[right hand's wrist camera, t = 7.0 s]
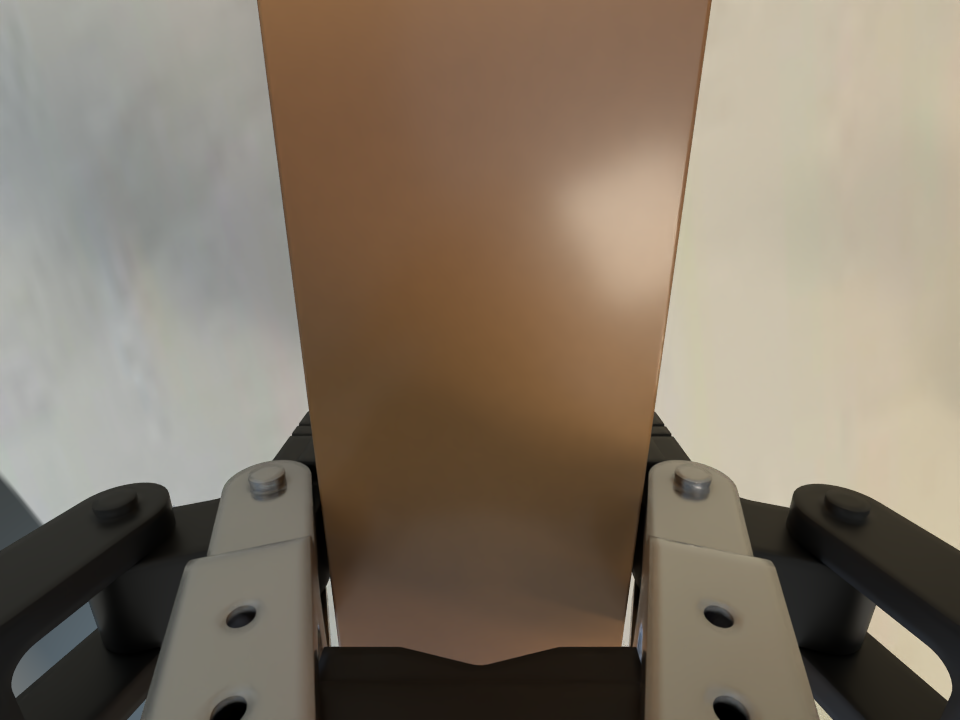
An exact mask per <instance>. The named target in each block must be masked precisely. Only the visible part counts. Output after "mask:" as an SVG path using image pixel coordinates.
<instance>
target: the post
mask: <svg viewBox="0 0 960 720" xmlns="http://www.w3.org/2000/svg"><path fill="white" fill-rule="evenodd" d="M711 2H712V0H257V4H258V12H259V20H260V27H261V35H262V43H263V51H264V59H265V67H266V75H267V83H268V90H269V98H270V106H271V114H272V122H273V130H274V138H275V146H276V154H277V161H278V169H279V177H280V185H281V193H282V201H283V209H284V217H285V224H286V232H287V240H288V248H289V256H290V264H291V272H292V280H293V287H294V295H295V303H296V311H297V319H298V327H299V335H300V343H301V351H302V358H303V366H304V374H305V382H306V390H307V398H308V406H309V414H310V421H311V429H312V437H313V445H314V453H315V461H316V469H317V477H318V484H319V492H320V500H321V508H322V516H323V524H324V532H325V540H326V548H327V555H328V563H329V571H330V579H331V587H332V595H333V603H334V611H335V618H336V626H337V634H338V642H339V647H404V648H408V649H412V650H416V651H420V652H424V653H428V654H432V655H436V656H440V657H444V658H449V659H453V660H457V661H461V662H465V663H469V664H474V665H486V664H491V663H495V662H499V661H503V660H507V659H511V658H516V657H520V656H524V655H528V654H532V653H536V652H540V651H544V650H548V649H552V648H556V647H621V645H622V638H623V631H624V624H625V616H626V609H627V602H628V595H629V588H630V581H631V574H632V566H633V559H634V552H635V545H636V538H637V531H638V524H639V516H640V509H641V502H642V495H643V488H644V481H645V474H646V466H647V459H648V452H649V445H650V438H651V431H652V424H653V416H654V409H655V402H656V395H657V388H658V381H659V374H660V366H661V359H662V352H663V345H664V338H665V331H666V324H667V316H668V309H669V302H670V295H671V288H672V281H673V274H674V266H675V259H676V252H677V245H678V238H679V231H680V224H681V216H682V209H683V202H684V195H685V188H686V181H687V174H688V166H689V159H690V152H691V145H692V138H693V131H694V124H695V116H696V109H697V102H698V95H699V88H700V81H701V74H702V66H703V59H704V52H705V45H706V38H707V31H708V24H709V16H710V9H711Z"/></svg>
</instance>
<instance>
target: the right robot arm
mask: <svg viewBox="0 0 960 720" xmlns="http://www.w3.org/2000/svg"><path fill="white" fill-rule="evenodd" d="M632 573H633V576H634V579H635V581H634V588H633V596H632V607H631V622H630V637H629V647H556V648H552V649H548V650H544V651H540V652H536V653H532V654H528V655H524V656H520V657H516V658H511V659H507V660H503V661H499V662H495V663H491V664H486V665H474V664H469V663H465V662H461V661H457V660H453V659H449V658H444V657H440V656H436V655H432V654H428V653H424V652H420V651H416V650H412V649H408V648H404V647H331V636H330V621H329V606H328V595H327V588H326V585H327V583H328V580H329V578H330V571H329V563H328V555H327V548H326V540H325V532H324V524H323V516H322V508H321V500H320V492H319V484H318V477H317V469H316V461H315V453H314V445H313V437H312V429H311V421H310V414H309V411H308V412H307V414H306V415H305V416H304V418H303V419H302V420H301V422H300V423H299V426H297V427H296V429H295V430H294V432H293V433H292V436H290V437H289V438H288V440H287V441H286V443H285V444H284V445H283V447H282V448H281V450H280V451H279V452H278V454H277V455H276V457H275V458H274V459H273V461H268V462H263V463H259V464H256V465H253V466H250V467H248V468H246V469H244V470H242V471H240V472H238V473H237V474H235V475H234V476H233V477H231V478H230V479H229V480H228V481H227V483H226V484H225V485H224V488H223V491H222V495H221V498H219V499H214V500H210V501H205V502H199V503H194V504H189V505H183V506H178V507H173V508H172V504H171V500H170V496H169V492H168V490H167V489H166V488H165V487H164V486H162V485H159V484H155V483H133V484H127V485H123V486H118V487H115V488H112V489H108V490H106V491H103V492H100V493H98V494H96V495H94V496H91V497H89V498H88V499H86V500H84V501H82V502H81V503H79V504H77V505H76V506H74V507H72V508H71V509H69V510H67V511H66V512H64V513H62V514H61V515H59V516H57V517H56V518H54V519H52V520H51V521H49V522H47V523H46V524H44V525H42V526H41V527H39V528H37V529H36V530H34V531H32V532H31V533H29V534H27V535H26V536H24V537H22V538H21V539H19V540H17V541H16V542H14V543H12V544H11V545H9V546H8V547H6V548H4V549H2V550H1V551H0V720H127V719H128V718H129V717H130V716H131V715H132V714H133V713H134V711H135V710H136V709H137V708H138V707H139V706H140V705H141V704H142V703H143V702H144V701H145V699H146V702H145V705H144V709H143V712H142V715H141V719H140V720H820V719H819V715H818V712H817V708H816V705H815V702H814V699H815V701H816V702H817V703H818V704H819V705H820V706H821V707H822V708H823V709H824V710H825V711H826V713H827V714H828V715H829V716H830V717H831V718H832V719H833V720H960V551H959V550H958V549H956V548H954V547H953V546H951V545H949V544H948V543H946V542H944V541H943V540H941V539H939V538H938V537H936V536H934V535H933V534H931V533H929V532H928V531H926V530H924V529H923V528H921V527H919V526H918V525H916V524H914V523H913V522H911V521H909V520H908V519H906V518H904V517H903V516H901V515H899V514H898V513H896V512H894V511H893V510H891V509H889V508H888V507H886V506H884V505H883V504H881V503H879V502H878V501H876V500H874V499H872V498H870V497H868V496H866V495H864V494H861V493H858V492H856V491H853V490H850V489H846V488H842V487H838V486H833V485H826V484H809V485H804V486H801V487H799V488H797V489H796V490H795V491H794V494H793V497H792V501H791V505H790V508H788V507H782V506H777V505H772V504H766V503H761V502H756V501H751V500H747V499H743V498H740V497H739V494H738V490H737V488H736V485H735V484H734V482H733V481H732V480H731V479H730V478H729V477H728V476H726V475H725V474H723V473H722V472H720V471H718V470H716V469H714V468H712V467H710V466H707V465H704V464H701V463H697V462H692V461H691V460H690V459H689V457H688V456H687V455H686V453H685V452H684V451H683V449H682V448H681V446H680V445H679V444H678V442H677V441H676V440H675V438H674V437H672V436H671V433H670V431H669V430H668V429H667V427H664V423H663V422H662V420H661V419H660V418H659V416H658V415H657V414H656V412H654V416H653V424H652V431H651V438H650V445H649V452H648V459H647V466H646V474H645V481H644V488H643V495H642V502H641V509H640V516H639V524H638V531H637V538H636V545H635V552H634V559H633V566H632ZM88 601H89V604H90V607H91V610H92V613H93V616H94V619H95V621H96V624H97V627H98V628H97V629H96V630H95V631H93V632H92V633H91V634H90V635H89V636H88V637H86V638H85V639H84V640H83V641H82V642H81V643H79V644H78V645H77V646H76V647H75V648H74V649H73V650H71V651H70V652H69V653H68V654H67V655H65V656H64V657H63V658H62V659H61V660H60V661H59V662H57V663H56V664H55V665H54V666H53V667H51V668H50V669H49V670H48V671H47V672H46V673H44V674H43V675H42V676H41V677H40V678H39V679H38V680H36V681H35V682H34V683H33V684H32V685H30V686H29V687H28V688H27V689H26V690H25V691H24V692H22V693H21V694H20V695H19V696H18V697H17V698H15V696H14V694H13V692H12V688H11V681H12V676H13V673H14V670H15V668H16V666H17V664H18V663H19V661H20V660H21V658H22V657H23V655H24V654H25V653H26V652H27V651H28V650H29V649H30V648H31V647H32V646H33V645H34V644H35V643H36V642H38V641H39V640H40V639H41V638H43V637H44V636H45V635H46V634H48V633H49V632H50V631H51V630H53V629H54V628H55V627H57V626H58V625H59V624H60V623H62V622H63V621H64V620H65V619H67V618H68V617H69V616H70V615H72V614H73V613H74V612H75V611H77V610H78V609H79V608H80V607H82V606H83V605H84V604H85V603H87V602H88ZM876 605H877V606H878V607H880V608H881V609H882V610H883V611H885V612H886V613H887V614H888V615H890V616H891V617H892V618H893V619H895V620H896V621H897V622H898V623H900V624H901V625H902V626H903V627H905V628H906V629H907V630H909V631H910V632H911V633H912V634H914V635H915V636H916V637H917V638H919V639H920V640H921V641H922V642H924V643H925V644H926V645H927V646H929V647H930V648H931V649H932V650H933V651H934V652H935V653H936V654H937V655H938V656H939V658H940V659H941V660H942V662H943V663H944V665H945V666H946V668H947V670H948V672H949V674H950V677H951V681H952V693H951V696H950V698H949V700H948V701H947V700H946V699H945V698H944V697H942V696H941V695H940V694H939V693H938V692H937V691H935V690H934V689H933V688H932V687H931V686H930V685H928V684H927V683H926V682H925V681H924V680H923V679H921V678H920V677H919V676H918V675H917V674H916V673H914V672H913V671H912V670H911V669H910V668H909V667H907V666H906V665H905V664H904V663H903V662H902V661H900V660H899V659H898V658H897V657H896V656H895V655H893V654H892V653H891V652H890V651H889V650H888V649H886V648H885V647H884V646H883V645H882V644H881V643H879V642H878V641H877V640H876V639H875V638H874V637H872V636H871V635H870V634H869V633H868V632H867V629H868V627H869V624H870V621H871V618H872V615H873V612H874V609H875V607H876Z"/></svg>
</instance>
